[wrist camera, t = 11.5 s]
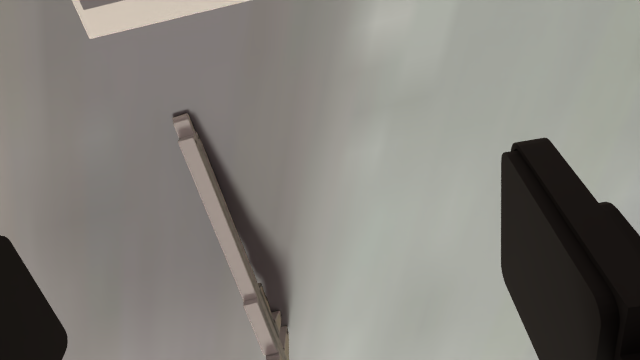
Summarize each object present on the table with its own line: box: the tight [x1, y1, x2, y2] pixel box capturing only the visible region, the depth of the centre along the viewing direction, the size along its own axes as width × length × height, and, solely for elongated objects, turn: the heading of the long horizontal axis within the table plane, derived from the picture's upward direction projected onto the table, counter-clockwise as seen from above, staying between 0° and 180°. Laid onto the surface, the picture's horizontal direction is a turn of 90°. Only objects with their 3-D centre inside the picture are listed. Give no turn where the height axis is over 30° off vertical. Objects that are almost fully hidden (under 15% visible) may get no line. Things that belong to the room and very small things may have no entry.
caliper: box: [172, 113, 289, 360], centre depth 38 cm, size 20×1×6 cm, turn 16°
